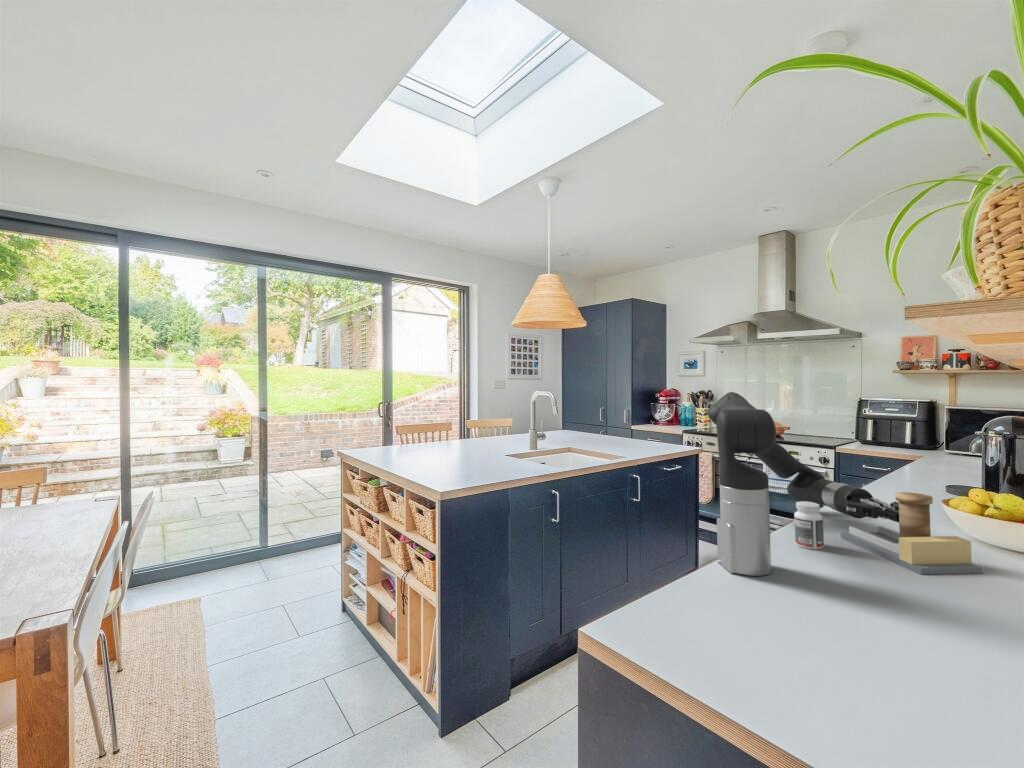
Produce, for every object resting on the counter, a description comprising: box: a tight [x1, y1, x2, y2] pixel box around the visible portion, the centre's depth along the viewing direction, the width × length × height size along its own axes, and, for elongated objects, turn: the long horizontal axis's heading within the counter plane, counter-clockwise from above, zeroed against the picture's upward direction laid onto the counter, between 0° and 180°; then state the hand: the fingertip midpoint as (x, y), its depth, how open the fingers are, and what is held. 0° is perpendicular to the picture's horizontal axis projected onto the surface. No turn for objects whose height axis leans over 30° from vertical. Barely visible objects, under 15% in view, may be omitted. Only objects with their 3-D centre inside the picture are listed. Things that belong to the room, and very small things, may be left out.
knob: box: [894, 491, 934, 545], centre depth 97 cm, size 6×6×12 cm
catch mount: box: [840, 525, 983, 575], centre depth 100 cm, size 12×22×6 cm, turn 179°
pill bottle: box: [793, 501, 825, 550], centre depth 106 cm, size 6×6×10 cm
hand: (904, 518), depth 100 cm, fingers closed
